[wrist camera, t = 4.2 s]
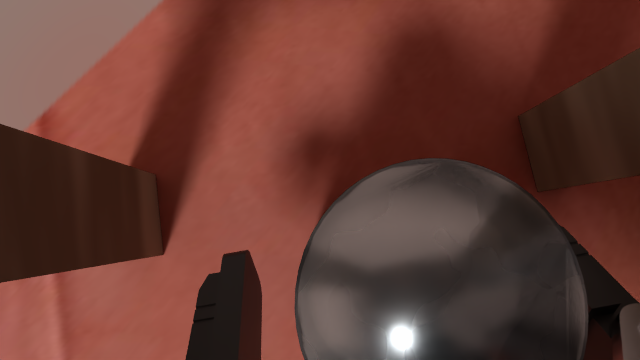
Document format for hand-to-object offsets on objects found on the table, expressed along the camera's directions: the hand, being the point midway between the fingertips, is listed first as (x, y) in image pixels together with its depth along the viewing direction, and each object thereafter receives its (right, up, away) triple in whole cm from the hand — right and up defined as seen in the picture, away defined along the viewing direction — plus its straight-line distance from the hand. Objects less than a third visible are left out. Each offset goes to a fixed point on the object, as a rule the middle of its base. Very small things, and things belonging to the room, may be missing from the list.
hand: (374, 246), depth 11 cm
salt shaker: (0, -1, +6) cm, 6 cm away
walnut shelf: (0, 0, +6) cm, 6 cm away
